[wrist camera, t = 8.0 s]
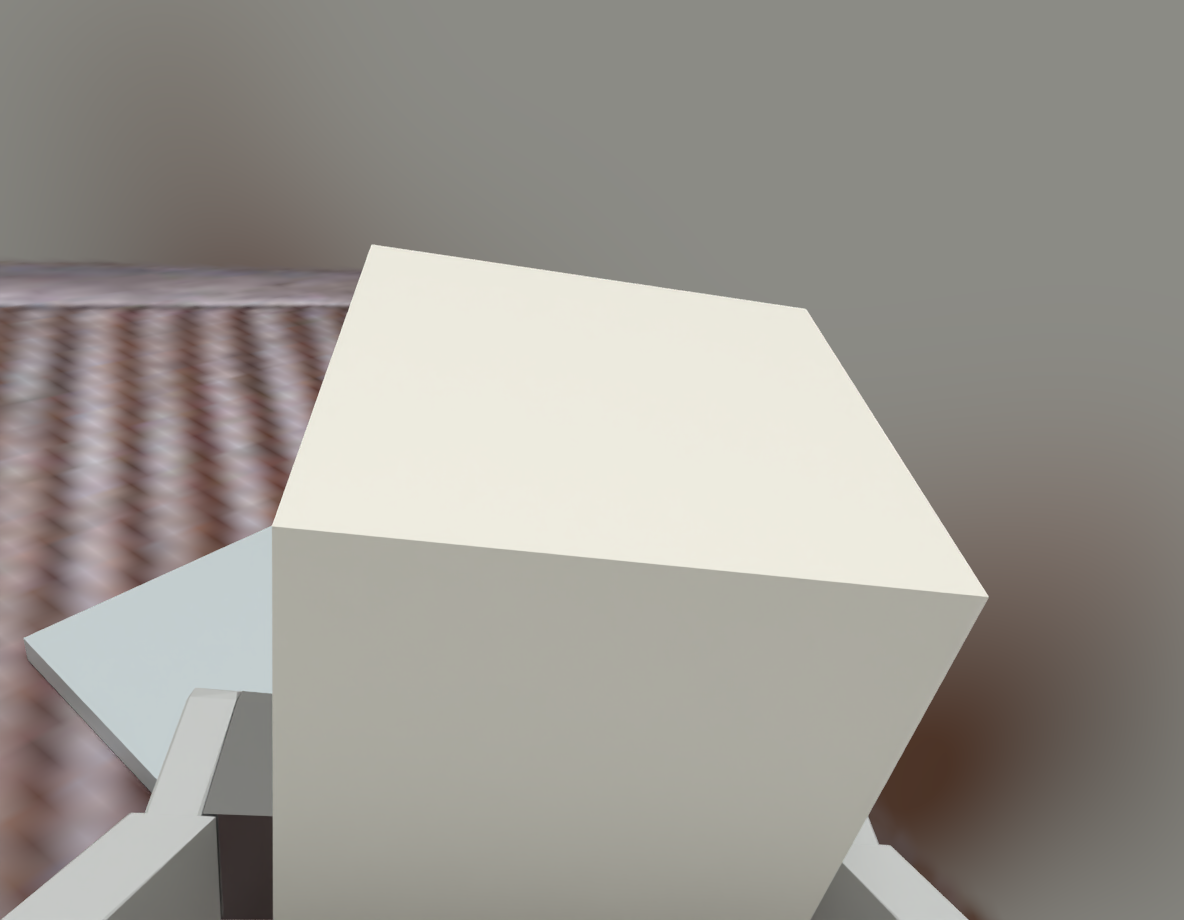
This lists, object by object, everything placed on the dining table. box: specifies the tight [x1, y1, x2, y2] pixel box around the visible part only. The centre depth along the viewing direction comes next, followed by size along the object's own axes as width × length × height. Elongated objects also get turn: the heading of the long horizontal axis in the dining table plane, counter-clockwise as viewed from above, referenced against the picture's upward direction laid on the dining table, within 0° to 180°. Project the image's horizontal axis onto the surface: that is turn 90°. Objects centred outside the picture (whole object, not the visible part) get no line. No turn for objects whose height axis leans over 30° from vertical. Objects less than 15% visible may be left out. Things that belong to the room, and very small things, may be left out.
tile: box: [24, 526, 272, 793], centre depth 32 cm, size 12×12×1 cm
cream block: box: [272, 245, 988, 920], centre depth 11 cm, size 4×4×12 cm
